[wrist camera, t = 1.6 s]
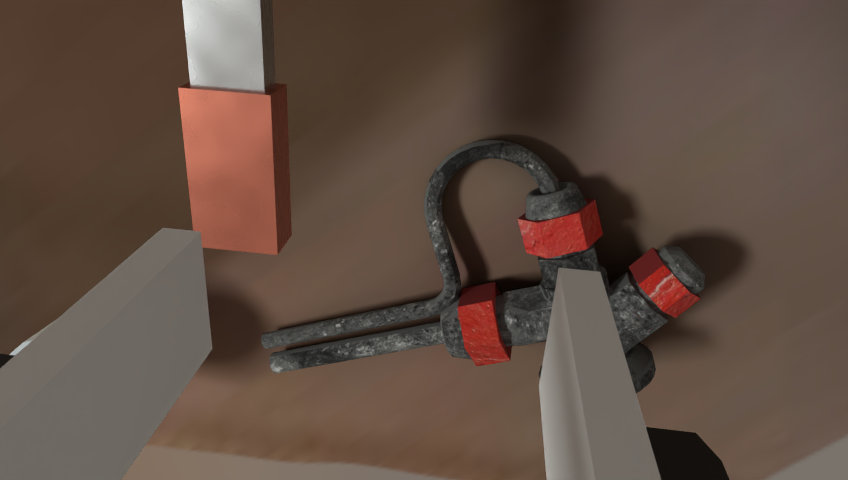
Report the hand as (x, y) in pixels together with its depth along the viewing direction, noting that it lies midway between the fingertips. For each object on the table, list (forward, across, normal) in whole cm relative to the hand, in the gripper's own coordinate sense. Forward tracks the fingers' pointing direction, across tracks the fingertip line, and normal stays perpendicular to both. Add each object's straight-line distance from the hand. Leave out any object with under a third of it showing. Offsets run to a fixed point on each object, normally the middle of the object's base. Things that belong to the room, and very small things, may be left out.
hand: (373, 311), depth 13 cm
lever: (+12, +7, -3) cm, 14 cm away
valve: (+24, -1, +11) cm, 26 cm away
